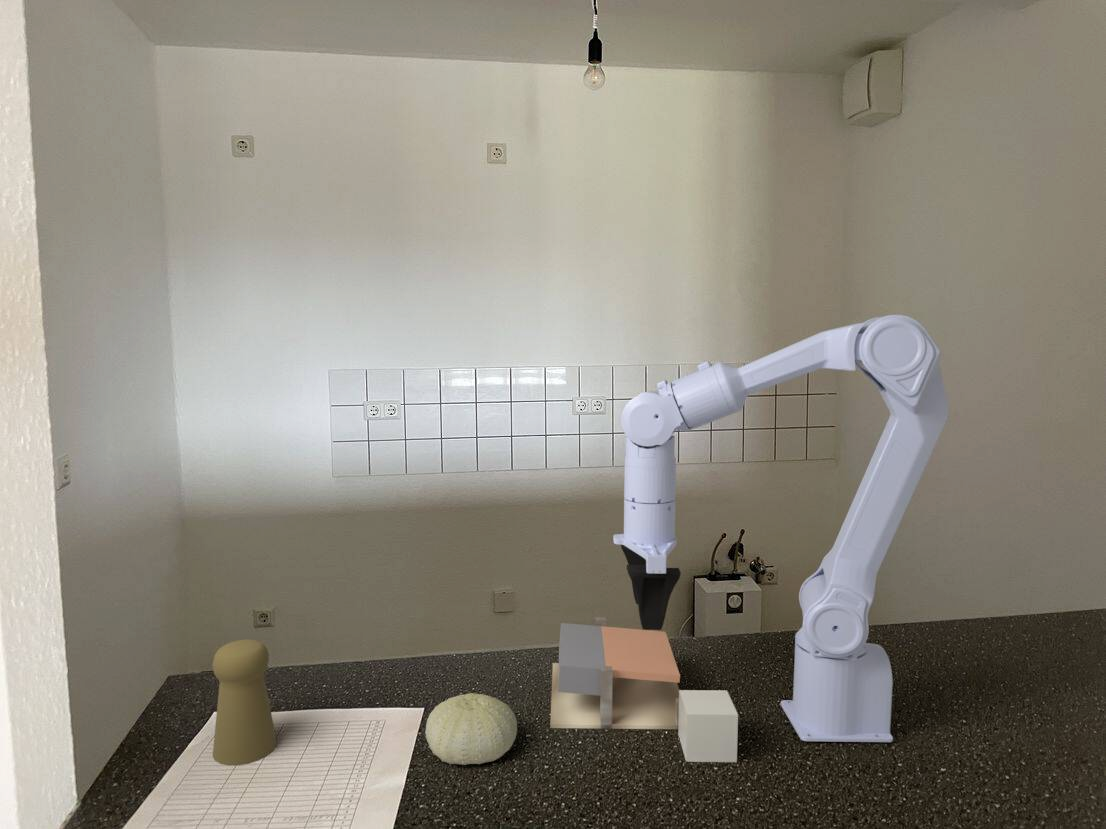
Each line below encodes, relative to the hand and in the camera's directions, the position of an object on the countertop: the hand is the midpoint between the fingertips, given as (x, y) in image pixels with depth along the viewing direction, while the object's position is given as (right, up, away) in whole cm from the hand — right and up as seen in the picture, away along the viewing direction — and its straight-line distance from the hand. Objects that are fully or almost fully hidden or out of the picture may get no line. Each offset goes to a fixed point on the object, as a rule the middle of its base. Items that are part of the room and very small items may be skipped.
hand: (647, 615), depth 85 cm
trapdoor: (-4, -7, +2) cm, 8 cm away
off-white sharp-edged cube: (+5, -11, -9) cm, 15 cm away
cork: (-42, -11, -9) cm, 45 cm away
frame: (-3, -10, +2) cm, 11 cm away
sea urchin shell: (-19, -11, -9) cm, 24 cm away
